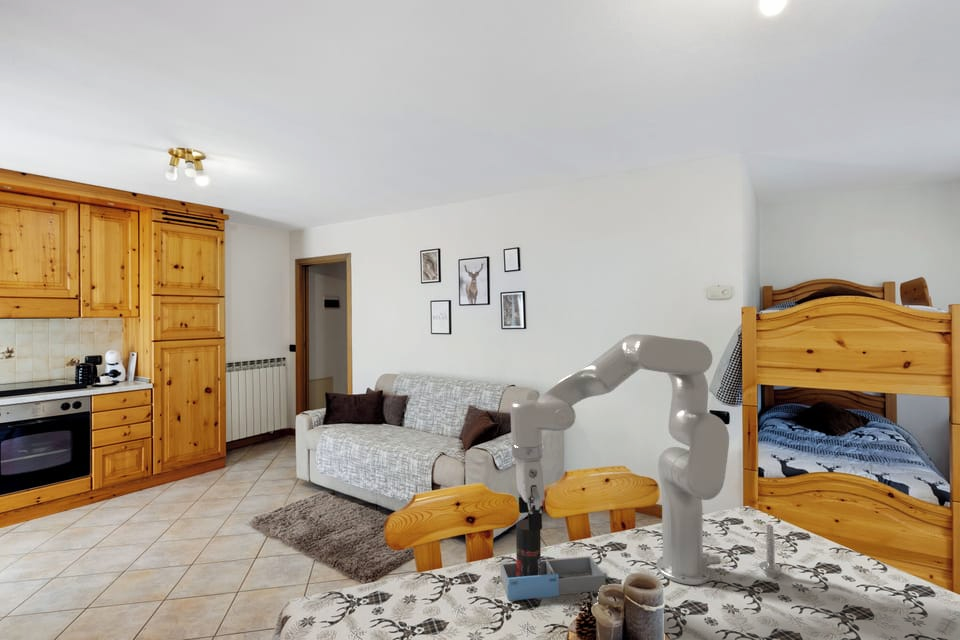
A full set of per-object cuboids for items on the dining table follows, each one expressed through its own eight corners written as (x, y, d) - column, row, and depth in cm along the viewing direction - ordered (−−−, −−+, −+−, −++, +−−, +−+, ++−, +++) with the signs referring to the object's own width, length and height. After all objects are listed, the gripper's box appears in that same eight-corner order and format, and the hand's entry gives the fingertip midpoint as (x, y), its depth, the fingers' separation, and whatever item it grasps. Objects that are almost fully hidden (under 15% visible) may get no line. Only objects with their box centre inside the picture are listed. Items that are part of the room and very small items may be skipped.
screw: (760, 568, 117) (782, 574, 115) (758, 576, 114) (781, 583, 111) (759, 518, 118) (781, 523, 115) (758, 525, 114) (781, 530, 111)
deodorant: (539, 594, 107) (539, 531, 107) (515, 591, 108) (514, 528, 108) (541, 580, 113) (541, 520, 113) (518, 577, 114) (517, 518, 114)
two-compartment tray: (590, 569, 117) (590, 550, 117) (606, 591, 108) (606, 570, 108) (500, 577, 114) (500, 557, 114) (508, 600, 104) (508, 579, 105)
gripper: (552, 460, 103) (555, 535, 103) (533, 440, 120) (535, 505, 120) (520, 463, 102) (523, 538, 101) (505, 443, 119) (508, 507, 119)
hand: (530, 520), depth 111 cm, fingers open, 9 cm apart
